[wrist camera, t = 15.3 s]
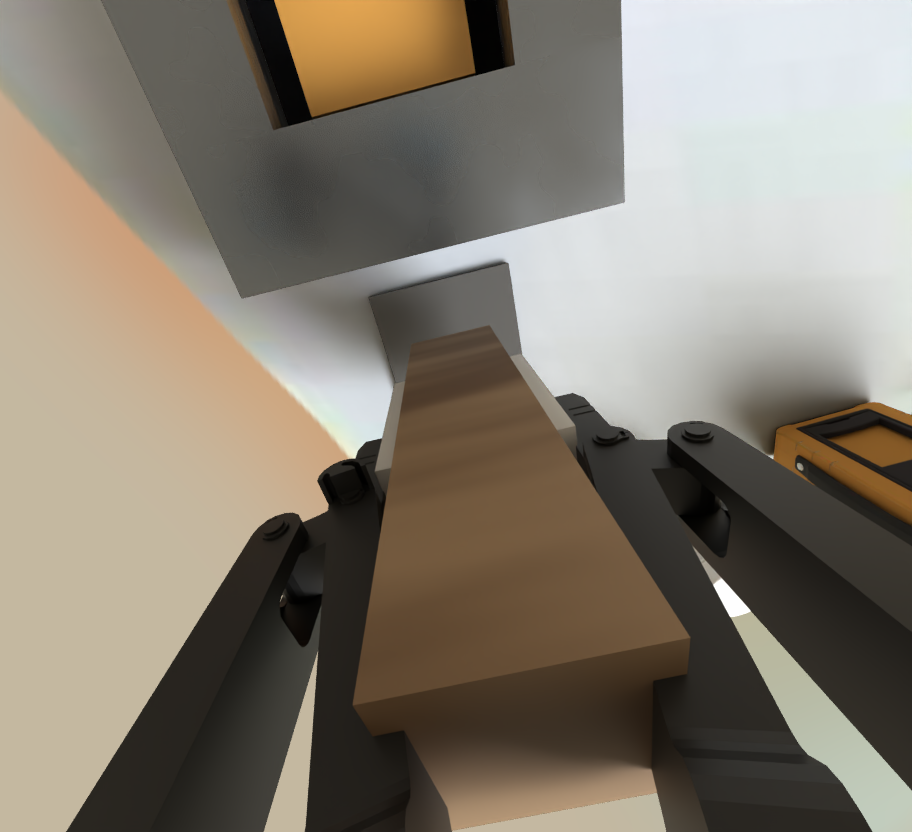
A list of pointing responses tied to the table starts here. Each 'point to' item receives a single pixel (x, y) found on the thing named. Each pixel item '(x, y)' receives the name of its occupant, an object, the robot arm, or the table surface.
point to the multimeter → (857, 461)
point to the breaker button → (374, 49)
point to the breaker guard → (381, 140)
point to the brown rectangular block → (507, 602)
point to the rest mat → (446, 312)
